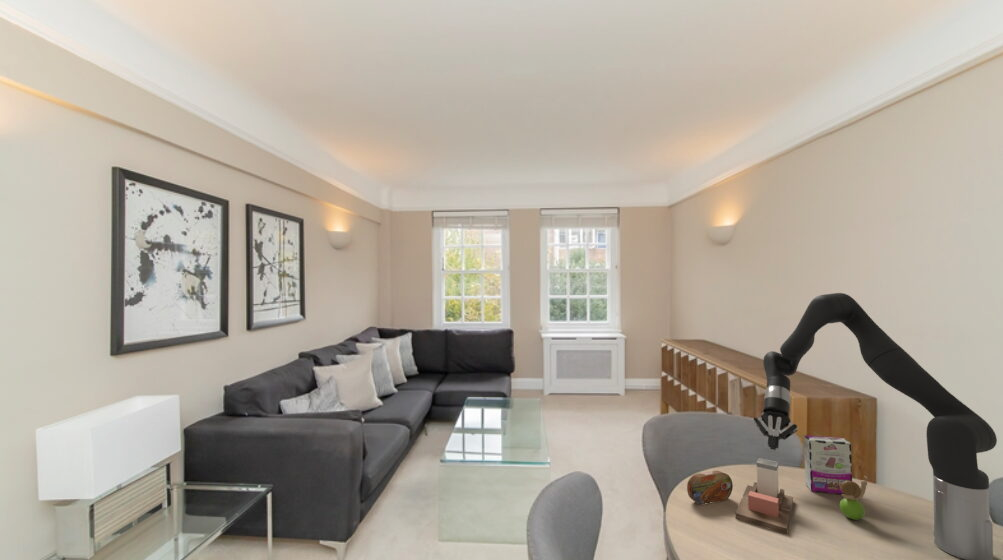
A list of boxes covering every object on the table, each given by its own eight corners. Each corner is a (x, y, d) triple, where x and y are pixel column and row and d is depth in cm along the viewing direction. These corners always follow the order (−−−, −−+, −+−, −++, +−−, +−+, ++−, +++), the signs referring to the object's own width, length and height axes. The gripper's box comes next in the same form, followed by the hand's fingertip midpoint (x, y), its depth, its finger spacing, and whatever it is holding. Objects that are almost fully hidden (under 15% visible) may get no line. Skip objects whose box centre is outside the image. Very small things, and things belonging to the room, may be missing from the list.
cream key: (778, 495, 125) (778, 462, 125) (777, 500, 122) (776, 467, 122) (759, 489, 129) (758, 457, 129) (757, 495, 125) (756, 462, 125)
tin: (692, 507, 123) (692, 478, 123) (685, 501, 126) (684, 474, 126) (733, 499, 127) (733, 471, 127) (725, 494, 130) (725, 467, 130)
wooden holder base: (793, 502, 125) (793, 490, 125) (787, 534, 109) (786, 521, 109) (747, 489, 132) (747, 478, 132) (735, 518, 117) (735, 505, 117)
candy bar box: (845, 488, 132) (844, 437, 132) (853, 496, 127) (852, 443, 127) (804, 484, 135) (803, 434, 135) (810, 491, 130) (809, 439, 130)
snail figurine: (874, 525, 112) (873, 481, 113) (847, 522, 114) (846, 479, 114) (861, 514, 118) (860, 472, 118) (835, 511, 119) (834, 470, 119)
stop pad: (778, 512, 117) (778, 498, 117) (777, 517, 114) (777, 503, 114) (750, 504, 121) (749, 490, 121) (748, 509, 119) (748, 495, 119)
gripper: (753, 393, 147) (748, 438, 137) (799, 399, 138) (796, 447, 129) (756, 404, 151) (751, 448, 141) (800, 411, 142) (798, 459, 133)
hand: (773, 448), depth 135 cm, fingers closed
